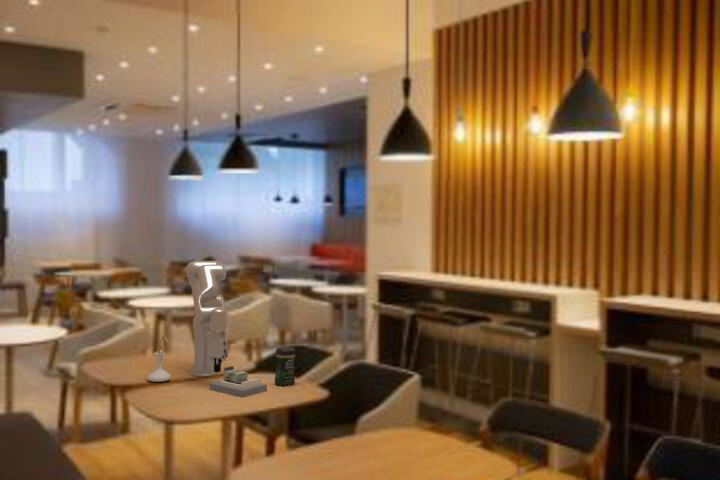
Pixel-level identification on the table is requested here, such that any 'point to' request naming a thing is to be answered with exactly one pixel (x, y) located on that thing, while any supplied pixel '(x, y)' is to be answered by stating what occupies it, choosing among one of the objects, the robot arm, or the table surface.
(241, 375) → the cart
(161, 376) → the flower in vase
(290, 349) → the coffee jar
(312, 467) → the table surface
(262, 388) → the dock
